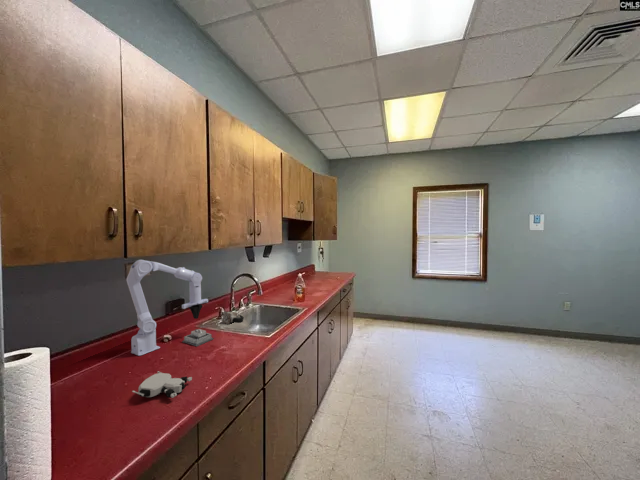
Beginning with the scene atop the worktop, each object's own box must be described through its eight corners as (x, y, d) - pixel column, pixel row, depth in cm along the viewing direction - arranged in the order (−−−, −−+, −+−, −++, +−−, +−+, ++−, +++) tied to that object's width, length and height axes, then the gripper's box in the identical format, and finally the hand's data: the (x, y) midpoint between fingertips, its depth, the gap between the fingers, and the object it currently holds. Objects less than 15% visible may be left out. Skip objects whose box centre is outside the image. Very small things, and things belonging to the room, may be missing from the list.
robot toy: (194, 384, 95) (155, 381, 96) (194, 372, 95) (156, 369, 96) (173, 406, 83) (129, 402, 83) (174, 393, 83) (130, 389, 83)
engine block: (198, 342, 129) (198, 332, 129) (191, 340, 132) (190, 330, 132) (206, 339, 133) (205, 329, 133) (198, 337, 136) (198, 327, 136)
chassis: (196, 346, 126) (196, 341, 126) (182, 342, 132) (182, 336, 132) (213, 339, 134) (213, 334, 134) (199, 335, 140) (199, 330, 140)
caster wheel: (244, 324, 163) (233, 327, 154) (232, 318, 168) (220, 321, 159) (247, 314, 163) (236, 317, 154) (234, 309, 168) (223, 311, 160)
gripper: (187, 297, 131) (188, 323, 131) (211, 291, 143) (212, 315, 143) (179, 296, 134) (179, 321, 134) (203, 290, 147) (204, 313, 147)
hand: (195, 318), depth 139 cm, fingers closed
